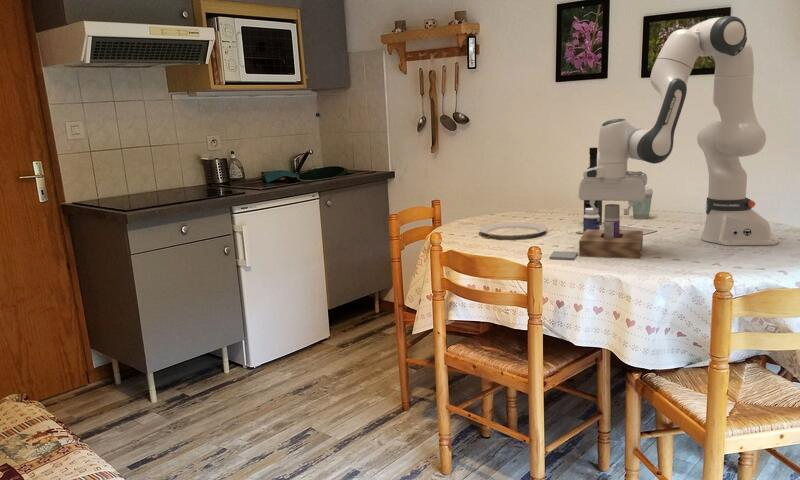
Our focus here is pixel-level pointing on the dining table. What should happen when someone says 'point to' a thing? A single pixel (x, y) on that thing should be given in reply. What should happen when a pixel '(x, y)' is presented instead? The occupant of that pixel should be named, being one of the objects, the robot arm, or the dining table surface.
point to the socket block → (611, 244)
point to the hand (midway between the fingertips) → (610, 214)
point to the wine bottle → (593, 163)
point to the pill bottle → (590, 220)
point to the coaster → (563, 255)
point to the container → (612, 221)
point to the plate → (528, 225)
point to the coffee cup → (643, 205)
